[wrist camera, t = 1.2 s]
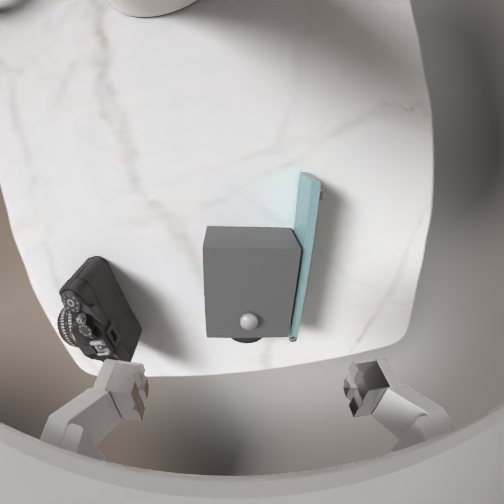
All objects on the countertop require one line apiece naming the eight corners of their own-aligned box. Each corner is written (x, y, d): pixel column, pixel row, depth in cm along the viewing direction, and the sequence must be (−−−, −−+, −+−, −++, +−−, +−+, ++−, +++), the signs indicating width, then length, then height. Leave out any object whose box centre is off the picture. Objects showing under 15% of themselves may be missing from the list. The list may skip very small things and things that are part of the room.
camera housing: (207, 226, 34) (202, 250, 28) (290, 228, 35) (303, 252, 29) (209, 316, 40) (206, 349, 34) (280, 316, 40) (288, 349, 34)
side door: (299, 172, 31) (311, 180, 27) (315, 173, 32) (328, 182, 27) (282, 318, 40) (288, 341, 36) (295, 318, 40) (302, 341, 36)
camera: (52, 269, 35) (19, 307, 26) (106, 250, 34) (74, 291, 25) (96, 341, 41) (77, 385, 32) (149, 331, 41) (135, 381, 32)
